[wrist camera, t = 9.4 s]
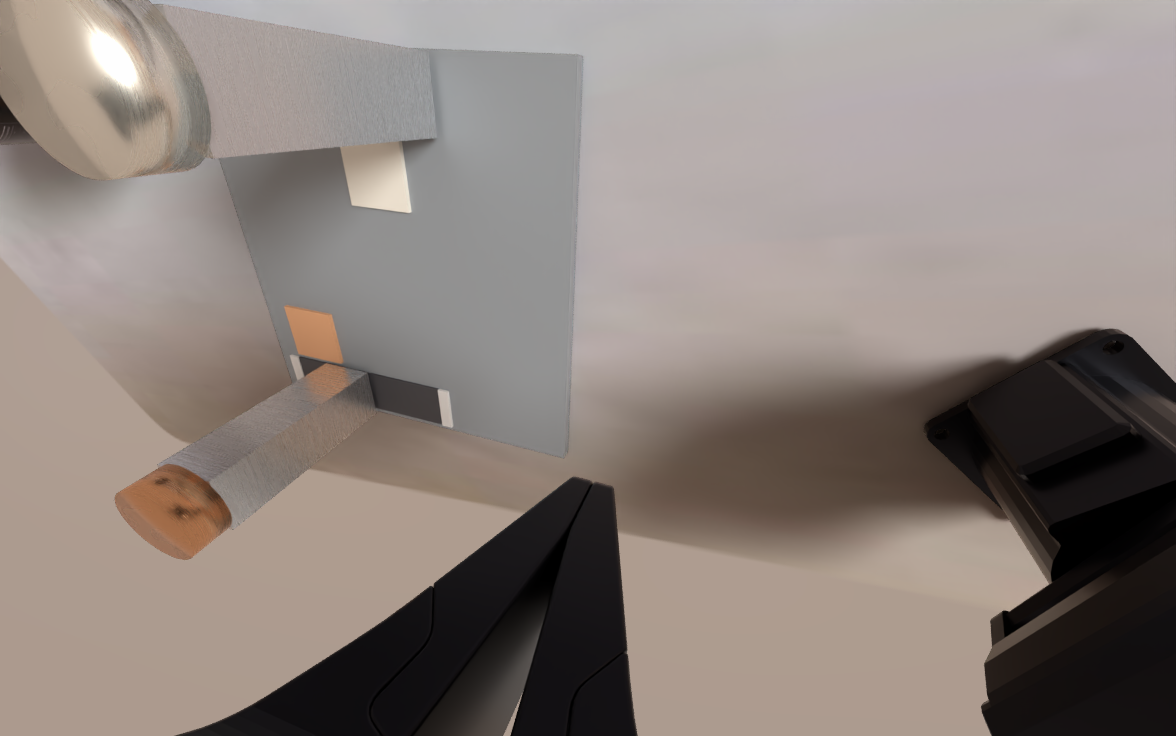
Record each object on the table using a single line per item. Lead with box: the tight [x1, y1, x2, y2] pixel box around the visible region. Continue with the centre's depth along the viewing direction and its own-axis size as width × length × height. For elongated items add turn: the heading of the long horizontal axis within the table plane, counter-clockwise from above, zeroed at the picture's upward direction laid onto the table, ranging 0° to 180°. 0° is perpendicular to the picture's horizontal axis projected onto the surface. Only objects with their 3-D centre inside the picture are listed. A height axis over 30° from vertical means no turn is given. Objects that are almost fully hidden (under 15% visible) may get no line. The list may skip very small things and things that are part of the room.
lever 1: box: [0, 0, 437, 180], centre depth 13 cm, size 4×4×11 cm
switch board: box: [219, 48, 583, 458], centre depth 22 cm, size 18×18×1 cm
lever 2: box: [115, 363, 377, 560], centre depth 22 cm, size 4×4×11 cm
